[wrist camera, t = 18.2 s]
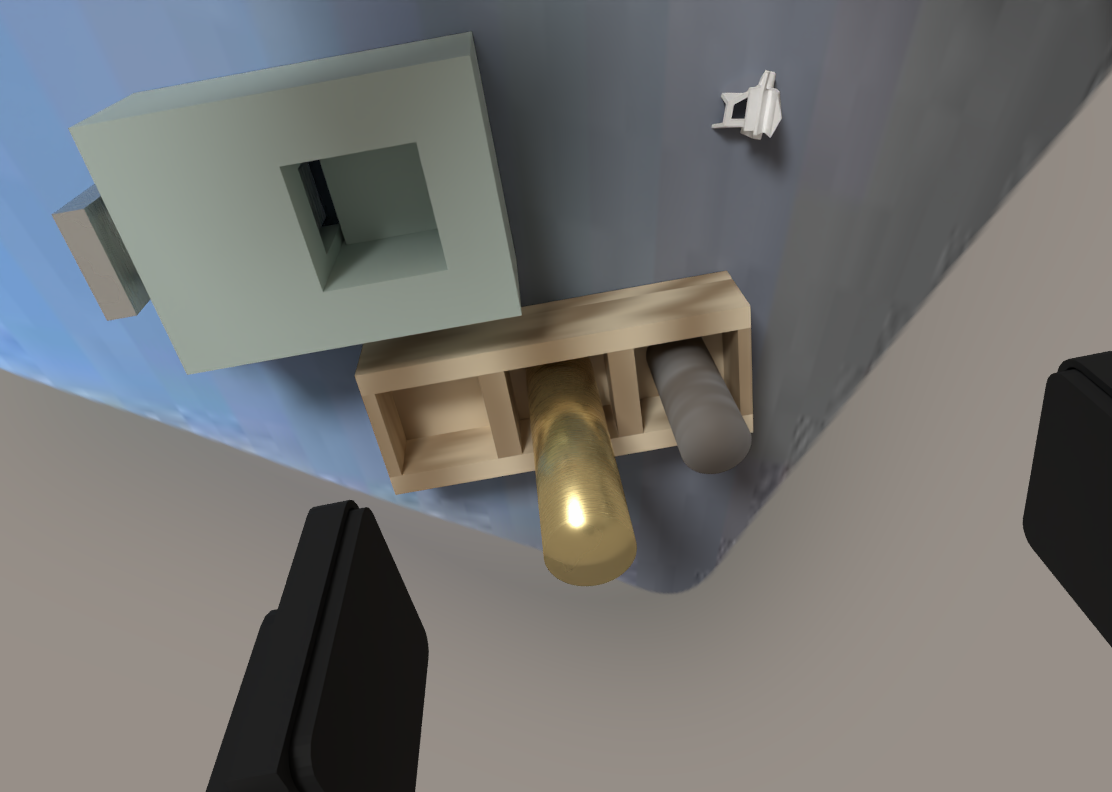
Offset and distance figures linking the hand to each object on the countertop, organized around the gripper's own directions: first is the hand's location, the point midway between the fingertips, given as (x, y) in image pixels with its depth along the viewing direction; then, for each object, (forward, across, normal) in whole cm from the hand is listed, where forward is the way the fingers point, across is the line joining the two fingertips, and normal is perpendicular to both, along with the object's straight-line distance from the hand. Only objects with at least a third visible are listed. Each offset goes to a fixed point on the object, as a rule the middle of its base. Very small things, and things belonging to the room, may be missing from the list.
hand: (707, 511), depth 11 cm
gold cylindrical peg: (+25, +3, +13) cm, 29 cm away
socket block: (+26, +11, +1) cm, 28 cm away
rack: (+26, +3, +13) cm, 29 cm away
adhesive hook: (+27, -6, +1) cm, 28 cm away
